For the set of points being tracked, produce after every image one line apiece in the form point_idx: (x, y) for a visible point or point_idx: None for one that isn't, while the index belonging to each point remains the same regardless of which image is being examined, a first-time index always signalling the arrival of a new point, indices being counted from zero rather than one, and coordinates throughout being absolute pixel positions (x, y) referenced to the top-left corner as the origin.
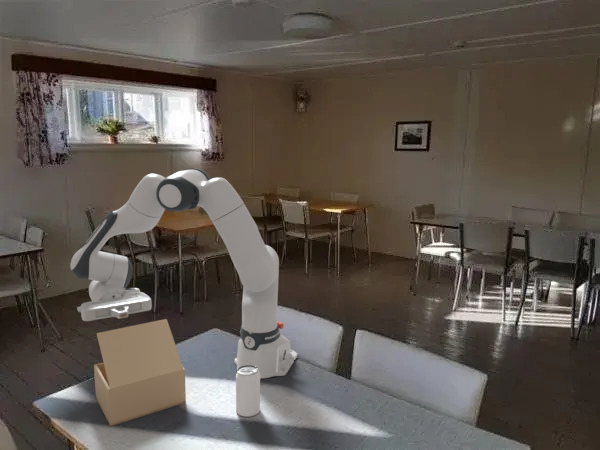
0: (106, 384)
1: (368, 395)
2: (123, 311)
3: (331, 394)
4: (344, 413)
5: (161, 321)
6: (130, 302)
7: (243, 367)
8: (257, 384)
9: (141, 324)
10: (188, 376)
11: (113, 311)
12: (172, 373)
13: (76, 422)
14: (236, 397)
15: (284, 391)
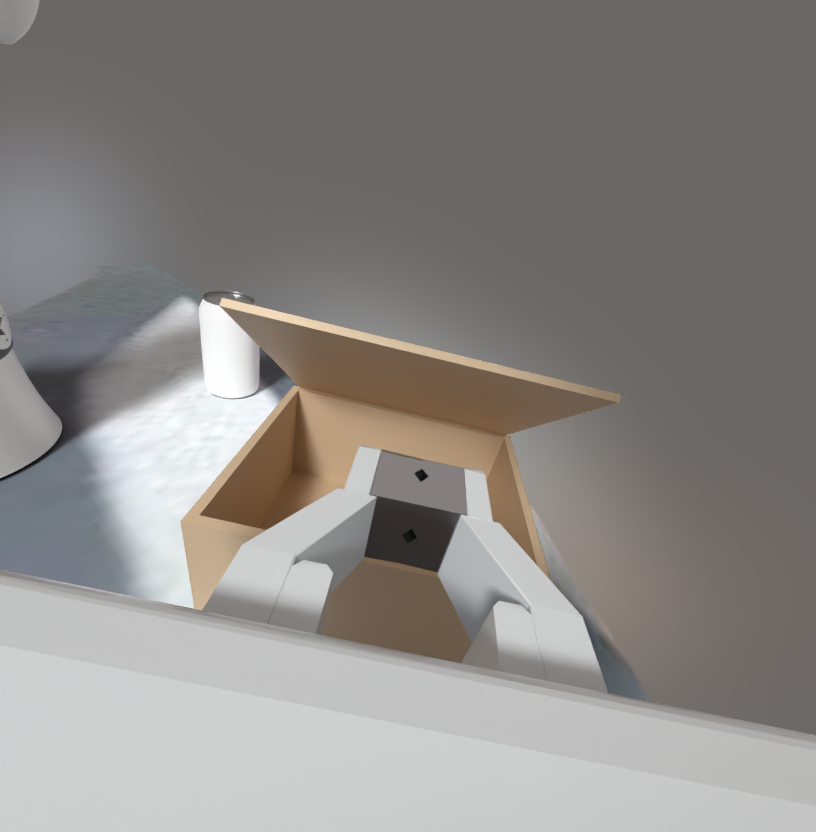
0: (511, 455)
1: (66, 306)
2: (407, 472)
3: (87, 331)
4: (153, 319)
5: (262, 310)
6: (41, 620)
7: (219, 305)
8: None
9: (378, 336)
10: (130, 572)
11: (534, 576)
12: (332, 397)
13: (552, 582)
14: (254, 362)
15: (111, 373)
